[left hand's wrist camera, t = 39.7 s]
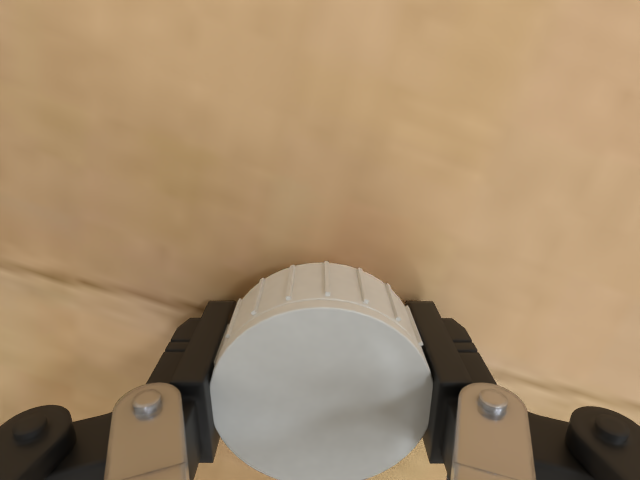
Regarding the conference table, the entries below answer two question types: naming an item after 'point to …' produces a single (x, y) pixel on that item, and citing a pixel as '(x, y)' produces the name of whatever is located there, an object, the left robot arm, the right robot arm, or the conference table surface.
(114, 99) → the conference table surface
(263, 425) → the lid
